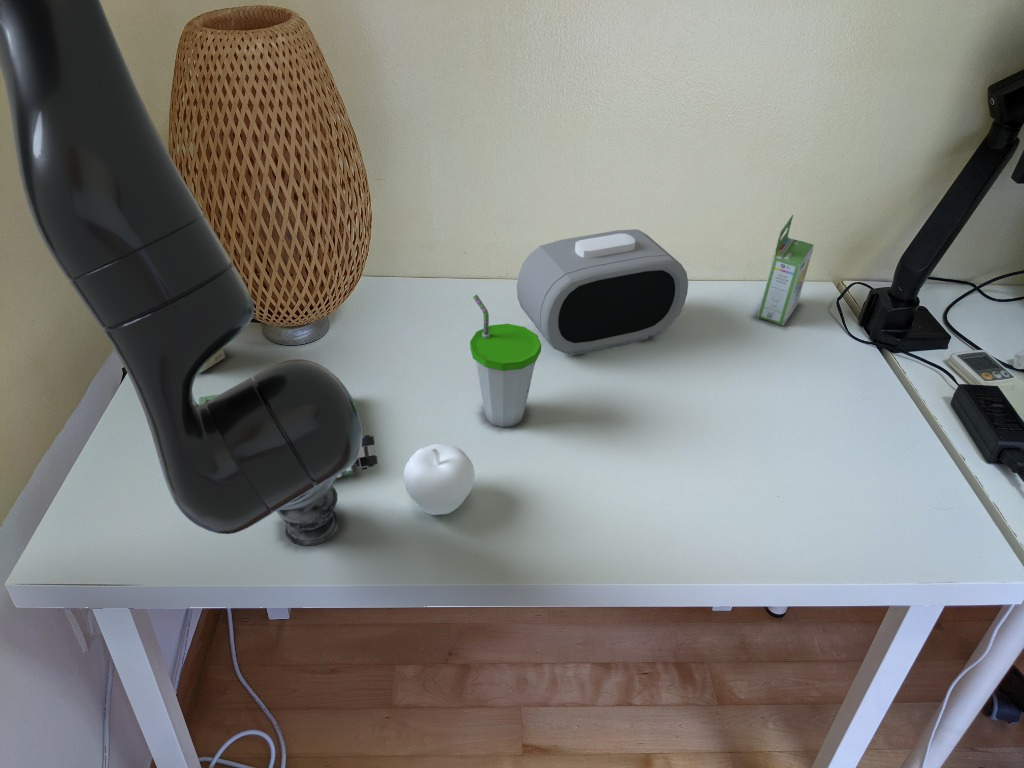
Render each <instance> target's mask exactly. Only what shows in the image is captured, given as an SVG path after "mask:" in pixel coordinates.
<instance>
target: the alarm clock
mask: <svg viewBox="0 0 1024 768" xmlns="http://www.w3.org/2000/svg"><path fill="white" fill-rule="evenodd" d="M688 290H689V279H688V273H687V271H686V269H685V268H684V266H683V264H682V263H681V262H680V261H679V260H677V259H676V258H675V256H674V257H673V256H672V255H671V254H670V253H669V252H668V251H667V250H666V249H664V248H663V247H662V246H661V245H660V244H658V242H656V241H655V240H654V239H653V238H652V237H650V236H649V235H648V234H647V233H646V232H643V231H641V230H640V229H638V228H637V229H617V230H611V231H605V232H599V233H594V234H593V233H592V234H587V235H582V236H576V237H569V238H564V239H559V240H555V241H552V242H549V243H545V244H542V245H539V246H538V247H537V248H535V249H534V250H533V251H531V252H530V253H529V254H528V255H527V257H526V258H525V260H524V261H523V262H522V264H521V266H520V270H519V272H518V275H517V280H516V296H517V301H518V303H519V306H520V308H521V309H522V310H523V312H524V314H526V316H527V317H528V319H529V320H530V321H531V322H532V323H533V325H534V326H535V328H536V329H537V330H538V331H539V333H540V335H542V336H543V338H544V339H545V340H546V342H547V343H548V344H549V345H550V346H551V348H553V349H554V350H555V351H558V352H561V353H564V354H570V355H571V356H572V357H573V356H577V355H578V356H579V355H582V354H587V353H590V352H595V351H600V350H604V349H605V350H606V349H609V348H610V349H611V348H613V347H618V346H622V345H627V344H632V343H637V342H641V341H645V340H649V338H650V337H652V336H654V335H657V334H660V333H663V332H664V331H665V330H666V329H668V328H669V327H670V326H671V325H672V324H674V322H675V321H676V320H677V318H678V317H680V315H681V313H682V310H683V308H684V306H685V303H686V299H687V296H688V292H689V291H688Z"/></svg>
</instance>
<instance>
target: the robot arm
mask: <svg viewBox="0 0 1024 768" xmlns="http://www.w3.org/2000/svg"><path fill="white" fill-rule="evenodd" d="M0 71H1V74H2V77H3V78H2V79H3V82H4V86H5V90H6V96H7V101H8V102H7V103H8V107H9V111H10V121H11V127H12V135H13V141H14V148H15V155H16V160H17V167H18V172H19V178H20V182H21V187H22V191H23V194H24V198H25V201H26V205H27V207H28V210H29V213H30V215H31V218H32V220H33V223H34V226H35V228H36V230H37V232H38V234H39V236H40V238H41V240H42V242H43V244H44V245H45V248H46V249H47V251H48V253H49V254H50V256H51V258H52V259H53V261H54V262H55V264H56V265H57V267H58V268H59V270H60V272H61V273H62V274H63V275H64V277H65V279H66V280H67V281H68V283H69V285H70V286H71V288H72V289H73V290H74V292H75V293H76V294H77V296H78V298H79V299H80V301H81V302H82V303H83V304H84V306H85V308H86V309H87V311H88V312H89V314H90V315H91V317H92V318H93V320H94V321H95V323H96V324H97V325H98V327H99V328H100V329H102V332H103V334H104V335H105V337H106V339H107V340H108V342H109V343H110V345H111V346H112V348H113V350H114V351H115V353H116V355H117V357H118V358H119V360H120V361H121V364H122V365H123V367H124V369H125V371H126V373H127V375H128V377H129V380H130V381H131V384H132V386H133V388H134V390H135V393H136V395H137V398H138V400H139V403H140V406H141V408H142V410H143V414H144V416H145V419H146V422H147V425H148V428H149V431H150V434H151V439H152V441H153V445H154V448H155V451H156V455H157V459H158V462H159V465H160V469H161V472H162V475H163V479H164V481H165V484H166V487H167V489H168V492H169V494H170V497H171V498H172V500H173V502H174V504H175V505H176V507H177V509H178V510H179V511H180V512H181V514H182V515H183V516H184V517H185V518H186V519H187V520H188V521H190V522H191V523H193V524H194V525H196V526H197V527H199V528H201V529H203V530H205V531H208V532H211V533H215V534H219V535H220V534H221V535H233V534H237V533H240V532H242V531H245V530H247V529H249V528H250V527H252V526H254V525H256V524H257V523H260V522H261V521H263V520H265V519H266V518H267V517H269V516H271V515H272V514H274V513H277V510H290V509H296V508H301V507H305V506H308V505H310V504H312V503H314V502H316V501H318V500H319V499H321V498H322V497H323V496H324V495H325V494H326V493H327V492H328V491H329V490H330V488H331V487H332V486H333V485H334V484H335V481H336V480H337V479H339V478H341V474H344V473H348V471H351V466H352V467H353V466H354V465H356V467H357V470H362V471H367V470H369V468H372V467H375V466H376V465H378V464H379V461H378V454H377V448H376V441H375V436H374V435H370V434H366V435H363V426H362V422H361V418H360V414H359V411H358V408H357V405H356V403H355V401H354V399H353V397H352V395H351V393H350V391H349V390H348V389H347V388H346V386H345V385H344V383H343V382H342V381H341V380H340V378H339V377H338V376H336V374H334V373H333V372H332V371H330V370H329V369H328V368H327V367H325V366H323V365H322V364H319V363H317V362H315V361H312V360H308V359H303V358H302V359H301V358H300V359H299V358H297V359H287V360H284V361H281V362H279V363H275V364H274V365H271V366H269V367H267V368H266V369H264V370H262V371H259V372H258V373H256V374H254V375H253V377H249V378H247V379H245V380H243V381H241V382H239V383H238V384H236V385H235V386H232V387H231V388H228V389H227V390H225V391H224V392H221V393H219V394H220V395H219V394H217V395H218V396H216V397H214V398H213V399H211V400H209V401H207V402H205V403H202V404H199V403H197V401H196V399H195V397H194V393H193V387H194V382H195V380H196V377H197V375H198V374H199V373H198V372H199V371H200V369H201V368H202V367H203V366H204V365H205V364H206V363H207V362H208V361H209V360H210V359H211V358H212V357H213V356H214V355H215V354H216V353H218V352H219V351H220V350H221V349H222V348H223V349H224V348H225V347H227V346H228V345H229V344H230V343H231V342H232V341H233V340H235V339H236V338H237V337H238V336H240V334H241V333H242V332H243V331H244V330H245V329H246V328H247V327H248V326H249V324H251V322H252V320H253V317H254V314H255V302H254V300H253V298H252V295H251V292H250V291H249V288H248V287H247V285H246V283H245V281H244V280H243V278H242V276H241V274H240V272H239V271H238V270H237V268H236V266H235V263H232V258H231V257H230V255H229V254H228V252H227V251H226V248H225V247H224V245H223V244H222V242H221V240H220V239H219V237H218V235H217V233H216V232H215V230H214V228H213V227H212V225H211V222H209V220H208V218H207V216H206V215H205V213H204V211H203V210H202V208H201V206H200V204H199V203H198V201H197V200H196V197H195V196H194V194H193V193H192V191H191V189H190V188H189V186H188V184H187V183H186V181H185V179H184V178H183V176H182V174H181V172H180V170H179V168H178V166H177V165H176V163H175V161H174V160H173V158H172V156H171V154H170V153H169V151H168V149H167V147H166V145H165V143H164V141H163V139H162V137H161V135H160V133H159V131H158V129H157V127H156V126H155V124H154V122H153V119H152V117H151V116H150V114H149V111H148V109H147V107H146V105H145V103H144V100H143V99H142V97H141V94H140V92H139V90H138V88H137V86H136V84H135V82H134V79H133V77H132V75H131V72H130V70H129V68H128V65H127V62H126V60H125V58H124V56H123V53H122V51H121V49H120V47H119V44H118V41H117V39H116V37H115V34H114V32H113V30H112V27H111V25H110V22H109V21H108V17H107V14H106V12H105V10H104V7H103V5H102V3H101V0H0ZM338 378H339V379H338Z"/></svg>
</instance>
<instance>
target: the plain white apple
mask: <svg viewBox="0 0 1024 768" xmlns="http://www.w3.org/2000/svg"><path fill="white" fill-rule="evenodd" d="M475 473H476V472H475V468H474V464H473V462H472V460H471V459H470V457H469V456H468V455H467V454H466V453H465V451H464V450H463V449H461V448H459V447H456V446H454V445H450V444H447V443H440V442H439V443H433V444H430V445H427V446H424V447H421V448H418V449H417V450H416V451H415V452H414V453H413V454H412V455H411V456H410V458H409V460H407V463H406V465H405V467H404V470H403V484H404V488H405V491H406V493H407V495H408V496H409V497H410V499H412V501H413V502H414V503H415V504H416V505H417V506H418V508H419V509H421V510H422V511H423V512H424V513H426V514H428V515H431V516H437V515H440V516H441V515H448V514H450V513H452V512H454V511H455V510H457V509H459V507H460V506H461V505H462V504H463V502H464V501H465V500H466V498H467V497H468V495H469V494H470V493H471V491H472V489H473V486H474V483H475V475H476V474H475Z"/></svg>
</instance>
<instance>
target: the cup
mask: <svg viewBox="0 0 1024 768" xmlns="http://www.w3.org/2000/svg"><path fill="white" fill-rule="evenodd" d="M472 298H473V300H474V302H475V303H476V305H477V306H478V307H479V309H480V310H481V312H482V314H483V328H481V329H480V330H477V331H475V333H474V335H473V336H472V338H471V339H470V341H469V350H470V353H471V355H472V359H473V360H474V361H475V364H476V365H475V366H476V370H477V377H478V382H479V389H480V396H481V400H482V406H483V412H484V413H483V414H484V417H485V420H486V421H487V422H488V423H489V424H490V425H492V426H493V427H499V428H511V427H514V426H516V425H518V424H520V423H522V421H523V418H524V416H525V411H526V407H527V401H528V397H529V393H530V389H531V385H532V384H531V383H532V378H533V374H534V369H535V364H536V362H537V360H538V358H539V356H540V354H541V352H542V343H541V340H540V339H539V336H538V334H537V333H535V332H534V331H532V330H531V329H529V328H527V327H525V326H521V325H515V324H511V323H501V324H492V325H489V324H490V323H489V322H490V315H489V310H488V309H487V307H486V306H485V304H484V303H483V301H482V300H481V299H480V297H479V296H478V294H477V293H476V294H474V296H472Z"/></svg>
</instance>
